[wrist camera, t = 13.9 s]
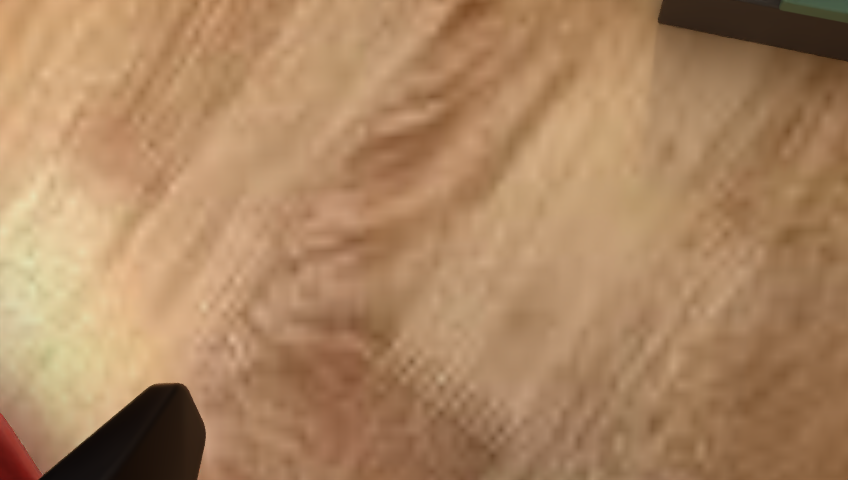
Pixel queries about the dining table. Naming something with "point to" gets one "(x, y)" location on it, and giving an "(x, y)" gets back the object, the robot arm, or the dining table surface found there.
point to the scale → (768, 22)
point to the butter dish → (14, 456)
